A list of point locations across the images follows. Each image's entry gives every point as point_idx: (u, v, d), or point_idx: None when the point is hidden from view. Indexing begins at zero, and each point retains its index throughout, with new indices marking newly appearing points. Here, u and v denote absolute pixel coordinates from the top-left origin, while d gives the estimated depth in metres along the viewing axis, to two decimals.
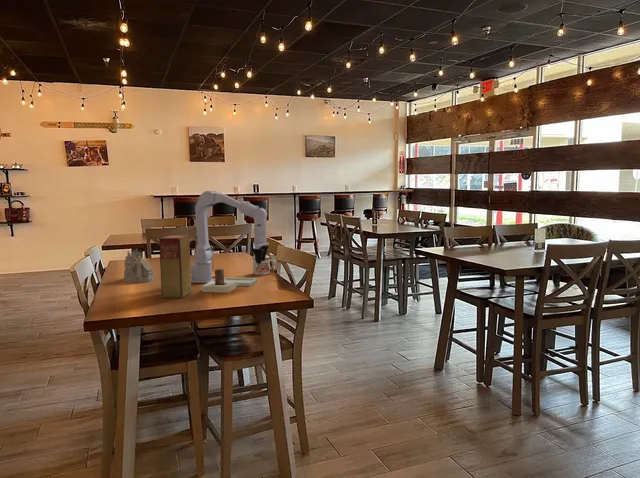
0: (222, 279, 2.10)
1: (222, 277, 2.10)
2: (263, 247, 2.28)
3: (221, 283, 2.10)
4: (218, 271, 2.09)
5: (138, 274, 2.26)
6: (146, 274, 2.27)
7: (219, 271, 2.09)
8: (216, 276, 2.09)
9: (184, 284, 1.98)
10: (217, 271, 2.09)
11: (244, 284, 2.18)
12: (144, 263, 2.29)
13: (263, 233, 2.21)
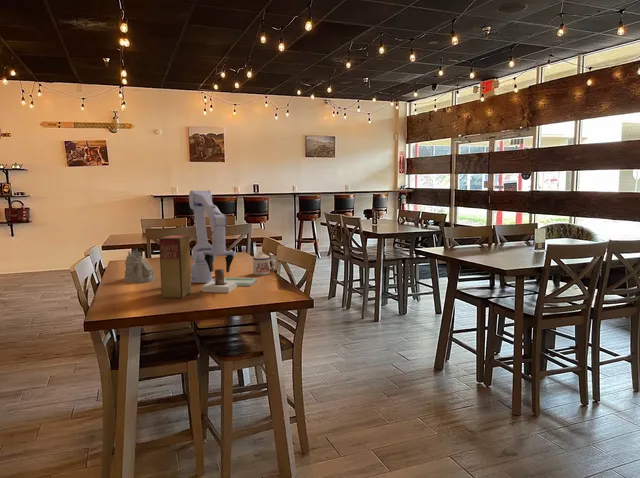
0: (222, 279, 2.10)
1: (222, 277, 2.10)
2: None
3: (221, 283, 2.10)
4: (218, 271, 2.09)
5: (139, 274, 2.26)
6: (147, 274, 2.28)
7: (219, 271, 2.09)
8: (216, 276, 2.09)
9: (184, 284, 1.98)
10: (217, 271, 2.09)
11: (244, 284, 2.18)
12: (145, 263, 2.30)
13: (216, 241, 2.06)
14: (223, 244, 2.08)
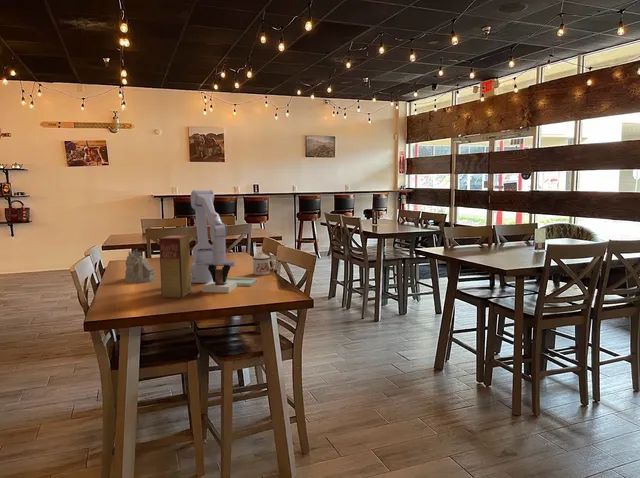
0: (222, 279, 2.10)
1: (222, 277, 2.10)
2: None
3: (221, 283, 2.10)
4: (218, 271, 2.09)
5: (140, 274, 2.26)
6: (147, 274, 2.28)
7: (219, 271, 2.09)
8: (216, 276, 2.09)
9: (184, 284, 1.98)
10: (217, 271, 2.09)
11: (244, 284, 2.18)
12: (145, 263, 2.30)
13: (216, 251, 2.07)
14: (223, 254, 2.08)
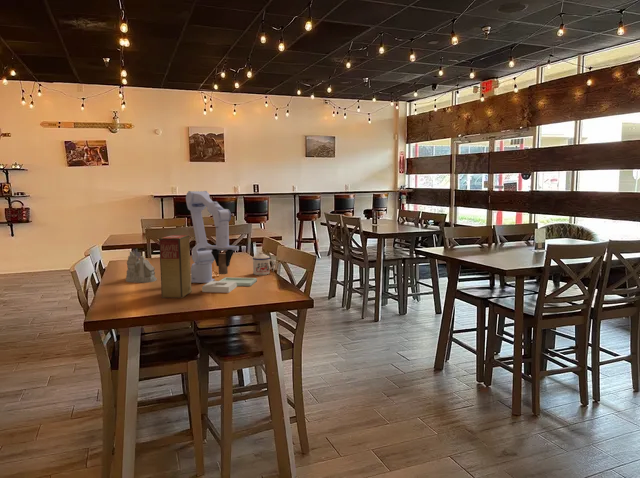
0: (225, 263, 2.12)
1: (225, 261, 2.12)
2: None
3: (224, 267, 2.12)
4: (221, 255, 2.11)
5: (141, 274, 2.26)
6: (149, 274, 2.28)
7: (222, 255, 2.11)
8: (219, 260, 2.11)
9: (184, 284, 1.98)
10: (220, 255, 2.11)
11: (244, 284, 2.18)
12: (146, 263, 2.30)
13: (220, 236, 2.09)
14: (226, 239, 2.10)
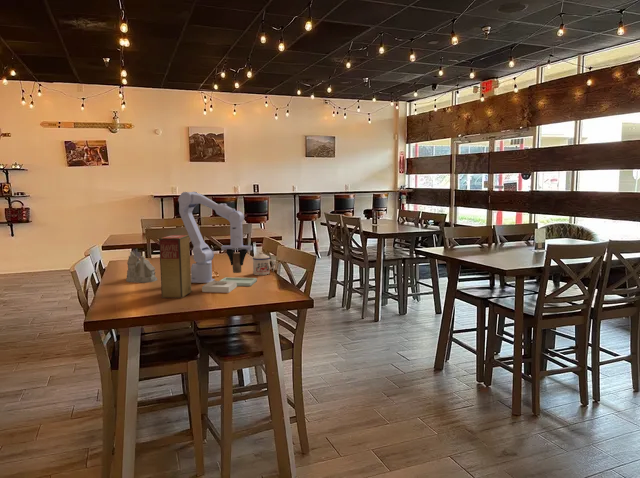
0: (239, 262, 2.23)
1: (239, 260, 2.22)
2: None
3: (238, 266, 2.22)
4: (235, 255, 2.21)
5: (141, 274, 2.26)
6: (149, 274, 2.28)
7: (236, 255, 2.21)
8: (234, 259, 2.22)
9: (184, 284, 1.98)
10: (234, 255, 2.22)
11: (244, 284, 2.18)
12: (147, 263, 2.30)
13: (238, 236, 2.20)
14: (241, 239, 2.21)
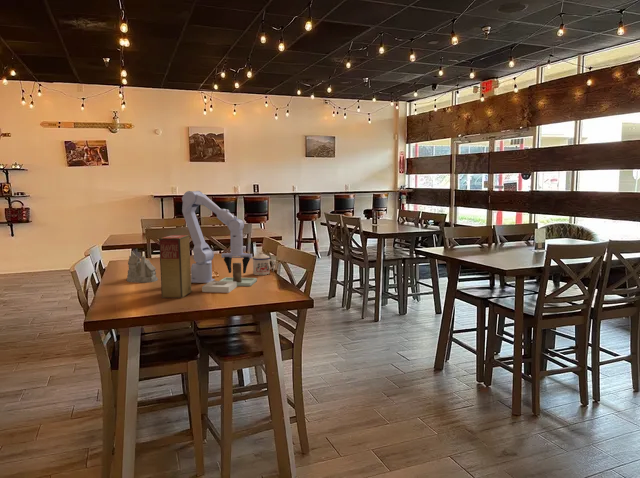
0: (239, 272, 2.23)
1: (239, 270, 2.23)
2: None
3: (238, 276, 2.23)
4: (235, 265, 2.22)
5: (142, 274, 2.27)
6: (150, 274, 2.28)
7: (236, 265, 2.22)
8: (234, 269, 2.23)
9: (184, 284, 1.98)
10: (235, 265, 2.22)
11: (244, 284, 2.18)
12: (148, 263, 2.30)
13: (239, 244, 2.21)
14: (241, 247, 2.22)
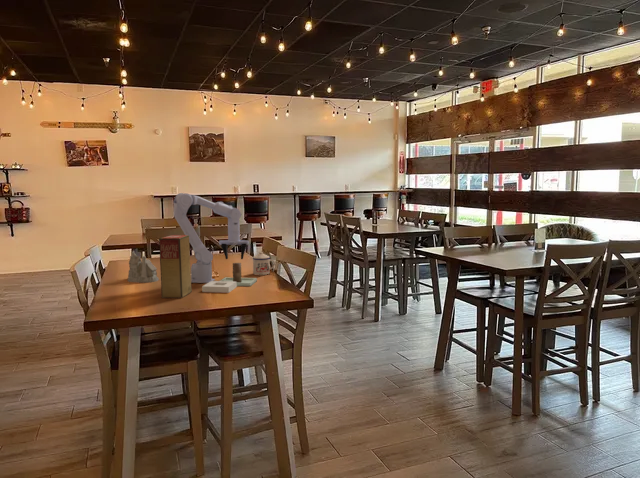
0: (239, 272, 2.23)
1: (239, 270, 2.23)
2: None
3: (238, 276, 2.23)
4: (235, 265, 2.22)
5: (143, 274, 2.27)
6: (151, 274, 2.28)
7: (236, 265, 2.22)
8: (234, 269, 2.23)
9: (184, 284, 1.98)
10: (235, 265, 2.22)
11: (244, 284, 2.18)
12: (148, 263, 2.30)
13: (239, 231, 2.33)
14: (238, 234, 2.33)
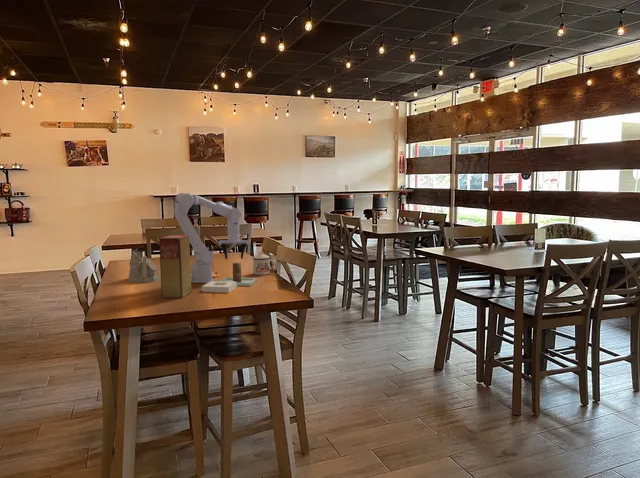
0: (239, 272, 2.23)
1: (239, 270, 2.23)
2: None
3: (238, 276, 2.23)
4: (235, 265, 2.22)
5: (144, 274, 2.27)
6: (151, 274, 2.28)
7: (236, 265, 2.22)
8: (234, 269, 2.23)
9: (184, 284, 1.98)
10: (235, 265, 2.22)
11: (244, 284, 2.18)
12: (149, 263, 2.30)
13: (238, 231, 2.34)
14: (238, 234, 2.34)
